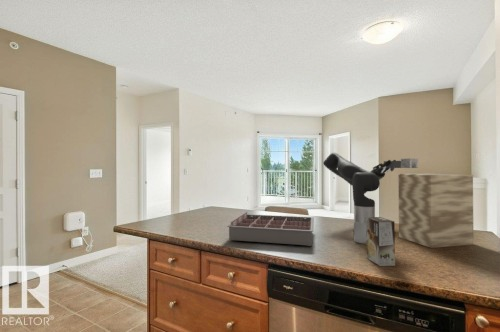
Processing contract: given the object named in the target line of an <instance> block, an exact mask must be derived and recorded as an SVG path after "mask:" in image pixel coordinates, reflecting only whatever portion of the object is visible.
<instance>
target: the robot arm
mask: <svg viewBox="0 0 500 332" xmlns="http://www.w3.org/2000/svg"><path fill="white" fill-rule="evenodd" d="M386 161H387V162H386V163H384V162H383V163H379V164H377V165H375V166H373V167H372V169H371V171H370V170H366V169H364V168H363V167H360V166H358V165H356V164H355V163H354V162H352V161H349V160H347V158H346V159H345V158H344V157H343V156H341V155H340V154H338V153H336V152H331V153H330V154H329V155H328V156H327V157H326V158H325V159H324V161H323V162H322V163H323V166H324V167H325V168H327V169H328V171H330V172H332V173H333V174H335V175H336V176H338V177H340V178H341V179H343V180H344V181H345V182H347V183H348V184H349V185H350V186H352V198H353V199H352V200H353V242H354V243H359V244H362V245H363V244H364V245H367V243H366V217H376V202H375V201H376V200H374V199H372V198H369V197H368V196H366V195H365V194H366V193H368V192H375V191H377V190H378V188H379V187H380V183H381V182H380V180H382V179H383V178H384V177H385V176H386V174H387V173H388V172H389V171H390V172H394V170H395V168H386V167H387V166H388V165H389V164H391V161H397V160H396V159H393V160H391V159H388V160H386Z"/></svg>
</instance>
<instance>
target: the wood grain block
mask: <svg viewBox="0 0 500 332" xmlns="http://www.w3.org/2000/svg"><path fill="white" fill-rule="evenodd" d="M398 238H400V239H404V240H406V241H410V242H413V243H416V244H419V245H422V246H424V247H428V248H431V249H434V248H436V249H437V248H445V247H446V248H447V247H456V246H468V245H475V243H474V175H473V174H451V173H450V174H445V173H443V174H442V173H438V174H437V173H400V174H398Z"/></svg>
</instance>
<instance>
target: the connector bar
mask: <svg viewBox="0 0 500 332" xmlns="http://www.w3.org/2000/svg"><path fill="white" fill-rule="evenodd" d="M387 161H388V160H386V161H383V163H386V162H387ZM386 168H394V169H418V168H419V158H415V157H414V158H401V159H400V160H396V161H393V160H391V164H389V165H388V166H387V167H386Z"/></svg>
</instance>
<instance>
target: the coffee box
mask: <svg viewBox="0 0 500 332" xmlns="http://www.w3.org/2000/svg"><path fill="white" fill-rule="evenodd" d="M395 224H396V223H395V220H391V219H388V218H384V217H381V216H378V217H377V216H375V217H366V243H367V244H366V259H368V260H370V261H371V262H373V263H375V264H376V265H378V266H379V267H393V266H396V246H395V245H396V240H395V239H396V238H395V237H396V235H395V234H396V233H395V231H396V230H395V229H396V228H395Z"/></svg>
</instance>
